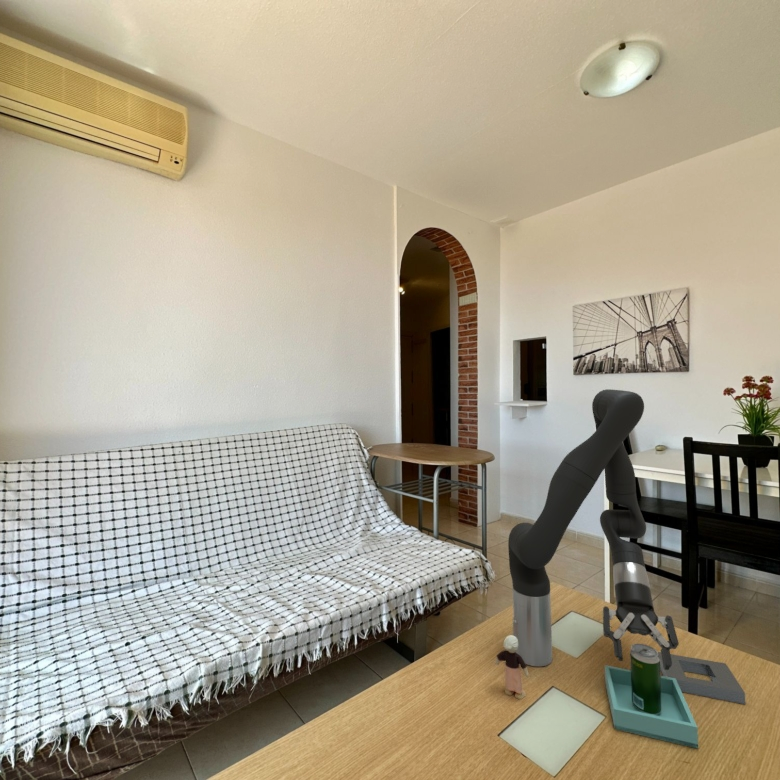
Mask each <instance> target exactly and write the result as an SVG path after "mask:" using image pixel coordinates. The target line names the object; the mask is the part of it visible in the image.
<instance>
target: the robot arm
mask: <svg viewBox="0 0 780 780" xmlns="http://www.w3.org/2000/svg"><path fill="white" fill-rule="evenodd" d="M592 400H593V401H592V405H591V406H592V407H591V408H592V415H593V420H594V422H595V427H596V430H595V431H594V432H593V433H592V435H591V436H590V437H589V438H587V439H586V440H584V441H583V442H581V443H580V444H578V445H577V446H576V447H574V448H573V449H572V450H571V451H570V452H568V453H566V456H565V457H564V458H563V459H562V460H561V461H560V464H559V466H558V467H557V468H556V470H555V472H554V474H553V475H552V477H551V479H550V482H549V486H548V490H547V496H546V500H545V504H544V507H543V509H542V511H541V513H540V514H539V516H538V517H537V519H536V521H535V522H534V523H533V524H532V523H530V522H520V523H518V524H516V525H514V526H513V527H512V529H511V530H510V532H509V536H508V539H507V540H508V546H507V547H508V563H509V572H510V576H511V581H512V582H511V583H512V603H513V604H512V609H513V614H512V615H513V616H512V635H513V636H515V637H516V638H517V639H518V649H517V651H516V653H517V654H519V655H520V656H521V657H522V659H523V661H524V662H525V664H526V665H528V666H532V667H545V666H548V665H550V664H551V663H552V661H553V644H552V643H553V639H552V638H553V636H552V608H551V603H552V602H551V581H550V578H549V576H548V574H547V573H548V572H547V570H546V567H545V566H546V565H548V564H549V563H550V561H551V560H552V559H553V557H554V556H555V553H556V551H557V550H558V547H559V545H560V543H561V542H562V539H563V537H564V535H565V533H566V531H567V529H568V528H569V525H570V524H571V522H572V521H573V519H574V517H575V516H576V514H577V512H578V511H579V509H580V508H581V506H582V504H583V503H584V501H585V500H586V499H587V496H588V495H589V494H590V492H592V491H591V490H592V489H593V488H594V486H595V485H596V483H597V481H598V479H599V477H600V476H601V475H602V473H603V471H604V482H605V483H604V484H605V495H606V499H607V500H608V501H609V502H611V503H613V504H615V505H616V504H617V505H619V506H623V507H625V508H627V509H628V510H627V509H605V510H603V511H602V512H601V514H600V517H599V522H600V523H599V524H600V527H601V529H602V532H603V534H604V535H605V537H606V540H607V543H608V546H609V549H610V553H611V560H612V569H613V572H612V573H613V574H612V575H613V576H612V577H613V586H614V593H615V602H616V603H615V604H616V609H612V608H609V607H608V606H605V605H604V606H603V609H602V627H603V629H602V630H603V632H602V633H603V637H605V638H608V639H610V640H611V641H612V642H613V652H614V653H613V654H614V656H615V658H617V659H618V662H619V661H620V662H623V660H624V656H623V654H624V653H623V646H622V641H621V638H622V637H623V636H624V634H625V633H626V632H628V633H630V634H633V635H636V634H638V635H641V636H648V635H649V636H650V637H651V639H652V641H654V642H656V643H657V645H659V647H660V648H661V649H660V652H661V655H662V661H663V666H664V669H665V670H669V667H671V666H672V660H671V655H670V654H671V650H672V649H673V650H675V649H677V648H678V646H679V645H680V644H679V639H678V636H677V632H676V627H675V625H674V620H673V618H672V616H671V615H666V616H659V615H657V614H656V612H655V608H654V603H653V597H652V596H653V595H652V591H651V590H652V589H651V586H650V580H649V576H648V573H647V569H646V565H645V564H646V563H645V559H644V558H645V557H644V553H643V549H642V547H641V546H640V545H638V544H637V543H635V542H632V541H629V540H625V539H623V538H627V539H628V538H629V539H641V538H642V537H643V536H645V534H646V532H647V525H646V521H645V519H644V517H643V514H642V512H641V509H640V506H639V503H638V502H639V501H638V498H637V487H636V486H637V484H636V475H635V469H634V466H633V463H632V460H631V458H630V456H629V454H628V451H627V450H626V446H625V444H624V441H625V440H626V439H627V437H628V436H629V435H630V433H632V431H633V430H634V429H635V427H636V426H637V425H638V423H639V422H640V420H641V419H642V418H643V414H644V412H645V411H644V410H645V403H644V400H643V398H642V397H641V395H640V394H639V393H636V392H635V391H629V390H623V389H622V390H621V389H611V388H610V389H602V390H601V391H599V392H598V393H597V394H596V395H595V396H594V398H593V399H592ZM643 538H644V537H643ZM614 616H615V617H616V619H618V621H619V622H620V624H619V625H618V628H617V629H616V630H615V631H612V630H611V623H610V622H611V621H610V620H613V618H614ZM658 623H659V624H660V625H661V627H663V628H664V629H665V632H666V634H667V639H668V640H667V639H666V638H665V637H664V636H663V635H662V633H661V631H660V630H659V629H658V628H657V627H656V626H657V624H658Z"/></svg>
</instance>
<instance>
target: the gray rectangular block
mask: <svg viewBox="0 0 780 780" xmlns="http://www.w3.org/2000/svg"><path fill="white" fill-rule="evenodd" d="M657 652H658V656H659V658H660V673H661V676H665V677H671V678H676V680H677V683H678V685H679V687H680V689H681V692H682V693H686V694H690V695H695V696H699V697H700V696H701V697H705V698H711V699H714V700H715V699H716V700H720V701H726V702H731V703H736V704H741V705H746V692H745V691H744V689H743V687H742V686H741V684H740V683H739V681H738V680H737V679H736V677H735V676H734V674H733V671H731V669H730V668H729V666H728V664H727V663H726V662H719V661H714V660H708V659H701V658H696V657H691V656H684V655H678V654H672V653H670V655H671V660H672V666H671V667H669V670H665V669H664V666H663V661H662V655H661V651H657ZM687 672H688V673H693V674H698V675H704V676H708V677H709V678H710V680H708V679H707V680H706V679H701V678H696V677H691V676H687V675H686V674H685V673H687Z"/></svg>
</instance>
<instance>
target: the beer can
mask: <svg viewBox="0 0 780 780" xmlns="http://www.w3.org/2000/svg"><path fill="white" fill-rule="evenodd" d="M629 652H630V654H629V657H630V660H629V661H630V662H629V663H630V670H631V692H632V703H633V705H634V707H635V708H636V709H637V710H638V711H639V712H642V713H647V714H652V715H656V716H657V715H659V714H660V712H661V710H662V709H661V679H660V676H661V670H660V658H659V656H658V652H659V651H658V650H656V649H655V648H654V647H653V646H650V645H647V644H645V643H634V644H632V645H631V647H630V650H629Z"/></svg>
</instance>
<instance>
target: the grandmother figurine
mask: <svg viewBox="0 0 780 780" xmlns="http://www.w3.org/2000/svg"><path fill="white" fill-rule="evenodd" d="M502 646H503V648H504V649H505V650H501V651H500V652H499V653H498V654H497V655H496V658H495V660H494V663H495V664H496V665H499V664H501V663H500V662H505V664H504V681H505V682H504V683H505V691H504V693H505V695H507V696H513V694H514V697H515V698H516V699H518V700H522V699H523V698H525V697H526V695H527V694H526V691H525V690H524V689H523V682H522V681H523V680H522V672H523V675H524V676H525V677H526V678H528V677H530V673H529V671H528V666H527V664H525V662H524V661H523V659H522V657H521V656H520V655H519V654H517V653H516V651H517V649H518V639H517V638H516V637H515V636H513V634H509V635H507V636H506V637H505V639H504V641H503V643H502ZM521 670H522V671H521Z"/></svg>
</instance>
